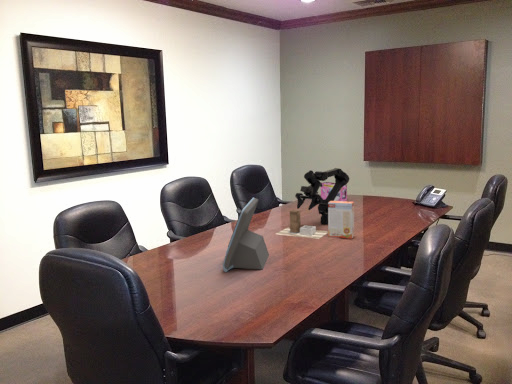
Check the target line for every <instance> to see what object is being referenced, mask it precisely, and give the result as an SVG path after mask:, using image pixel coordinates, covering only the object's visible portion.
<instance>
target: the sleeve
mask: <svg viewBox="0 0 512 384" xmlns="http://www.w3.org/2000/svg"><path fill="white" fill-rule="evenodd" d="M316 230H317V226H315V225H314V226H313V225H303V226H301V228H300V235H308V236H312V235H314V234H315V233H316Z"/></svg>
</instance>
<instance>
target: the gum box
mask: <svg viewBox="0 0 512 384" xmlns="http://www.w3.org/2000/svg"><path fill="white" fill-rule="evenodd" d="M321 183H322V186H323V187H320V196H321V197H322V198H323V199H324V200H325V199H326V198H327V196H328V195H329V193H330V191H331V190H332V188H333V187H334V185H335V182H329V181H325V182H324V181H323V182H321ZM347 186H348V184H346V185H345V186H343V187H342V188H341V190H340V191H339V193H338V194H337V196H336V198H335V199H334V201H347V202H348V191H347V189H348V187H347Z"/></svg>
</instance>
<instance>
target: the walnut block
mask: <svg viewBox="0 0 512 384" xmlns="http://www.w3.org/2000/svg"><path fill="white" fill-rule="evenodd" d="M301 222H302V221H301V210H299V209H292V210H289V228H290V232H293V233H298V232H300V228H301V227H302V226H301Z"/></svg>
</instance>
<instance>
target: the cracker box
mask: <svg viewBox="0 0 512 384" xmlns="http://www.w3.org/2000/svg"><path fill="white" fill-rule="evenodd" d="M327 225H328V227H327V229H328V230H327V231H328V233H327V234H328V237H333V238H339V239H349V240H350V239H351V240H352V239H353V238H355V201H348V200H347V201H330V202H328V224H327Z"/></svg>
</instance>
